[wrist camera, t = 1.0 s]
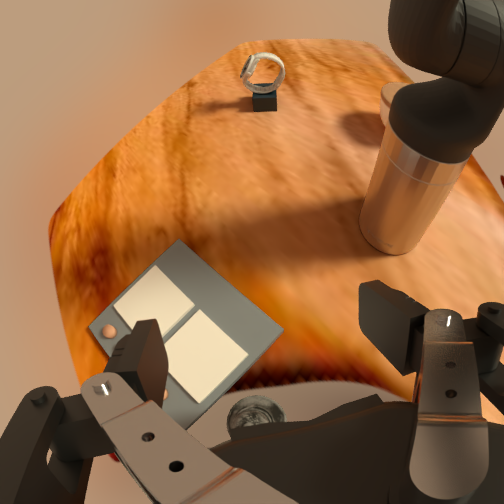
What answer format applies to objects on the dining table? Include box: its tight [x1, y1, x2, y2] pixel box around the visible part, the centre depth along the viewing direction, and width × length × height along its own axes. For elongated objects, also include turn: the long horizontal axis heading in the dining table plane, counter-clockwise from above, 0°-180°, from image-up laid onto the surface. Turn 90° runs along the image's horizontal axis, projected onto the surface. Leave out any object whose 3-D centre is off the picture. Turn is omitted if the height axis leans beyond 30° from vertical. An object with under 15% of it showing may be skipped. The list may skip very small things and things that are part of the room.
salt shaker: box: [227, 395, 287, 437], centre depth 25 cm, size 6×6×12 cm
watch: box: [240, 52, 285, 112], centre depth 50 cm, size 6×8×11 cm
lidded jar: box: [379, 82, 410, 127], centre depth 45 cm, size 11×11×9 cm
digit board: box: [88, 239, 284, 430], centre depth 35 cm, size 17×18×2 cm
